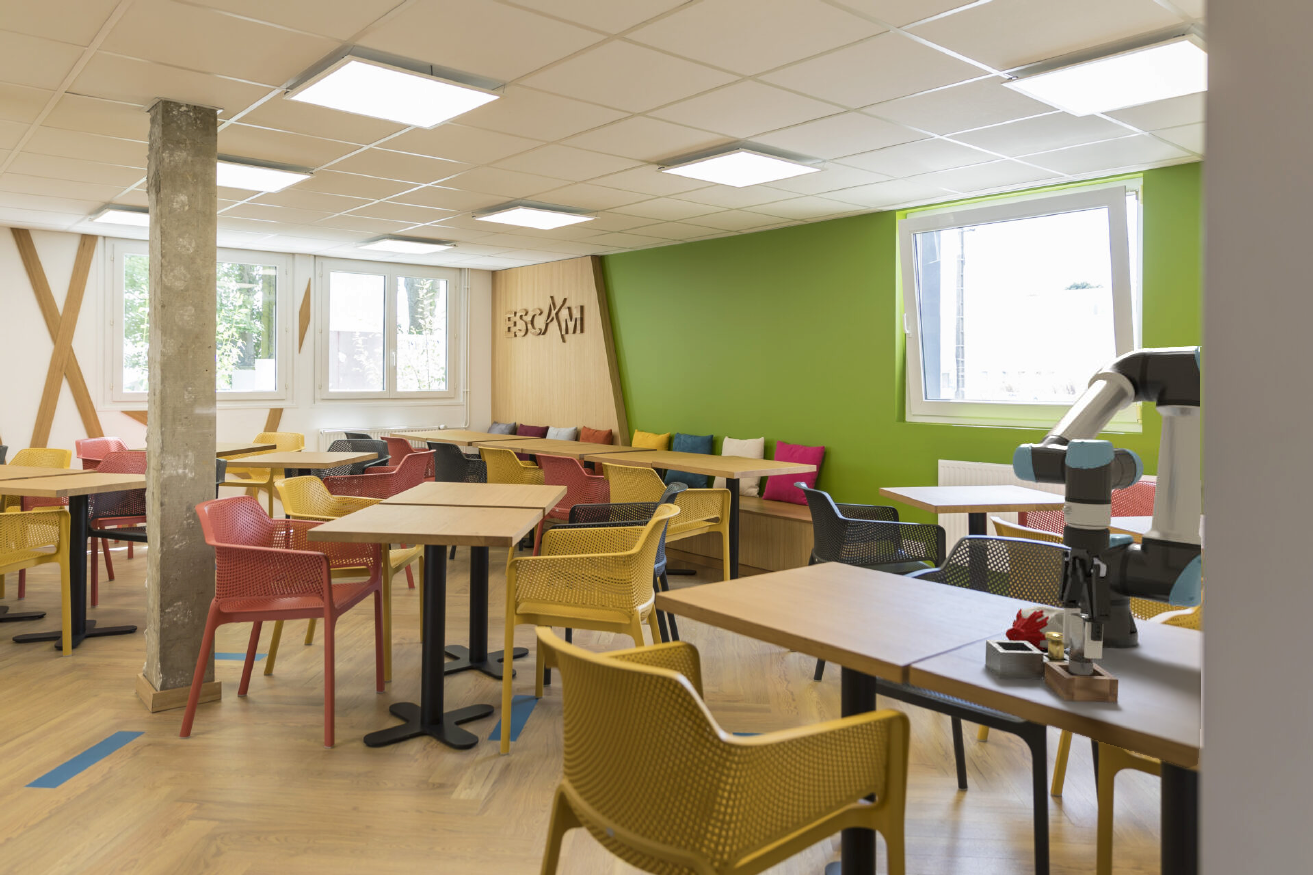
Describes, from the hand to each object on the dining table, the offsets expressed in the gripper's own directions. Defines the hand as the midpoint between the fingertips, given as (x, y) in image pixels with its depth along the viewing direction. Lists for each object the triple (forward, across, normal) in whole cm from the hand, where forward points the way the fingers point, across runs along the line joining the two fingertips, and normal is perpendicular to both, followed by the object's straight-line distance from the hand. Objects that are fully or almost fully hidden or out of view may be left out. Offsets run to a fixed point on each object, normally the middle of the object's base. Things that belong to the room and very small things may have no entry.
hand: (1081, 649), depth 154 cm
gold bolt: (+7, -11, 0) cm, 13 cm away
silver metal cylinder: (+8, 0, 0) cm, 8 cm away
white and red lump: (+8, -26, +3) cm, 28 cm away
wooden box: (+8, 0, 0) cm, 8 cm away
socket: (+8, -11, -5) cm, 14 cm away
